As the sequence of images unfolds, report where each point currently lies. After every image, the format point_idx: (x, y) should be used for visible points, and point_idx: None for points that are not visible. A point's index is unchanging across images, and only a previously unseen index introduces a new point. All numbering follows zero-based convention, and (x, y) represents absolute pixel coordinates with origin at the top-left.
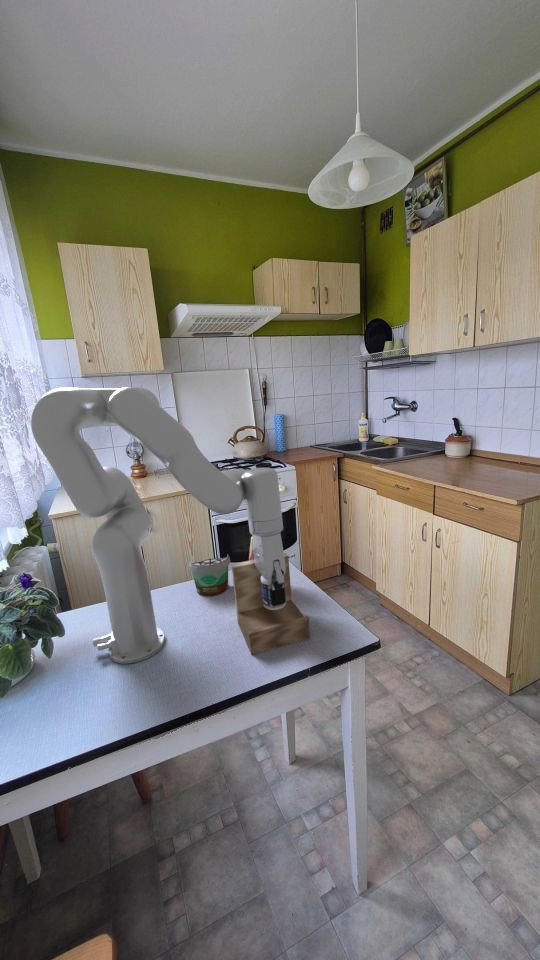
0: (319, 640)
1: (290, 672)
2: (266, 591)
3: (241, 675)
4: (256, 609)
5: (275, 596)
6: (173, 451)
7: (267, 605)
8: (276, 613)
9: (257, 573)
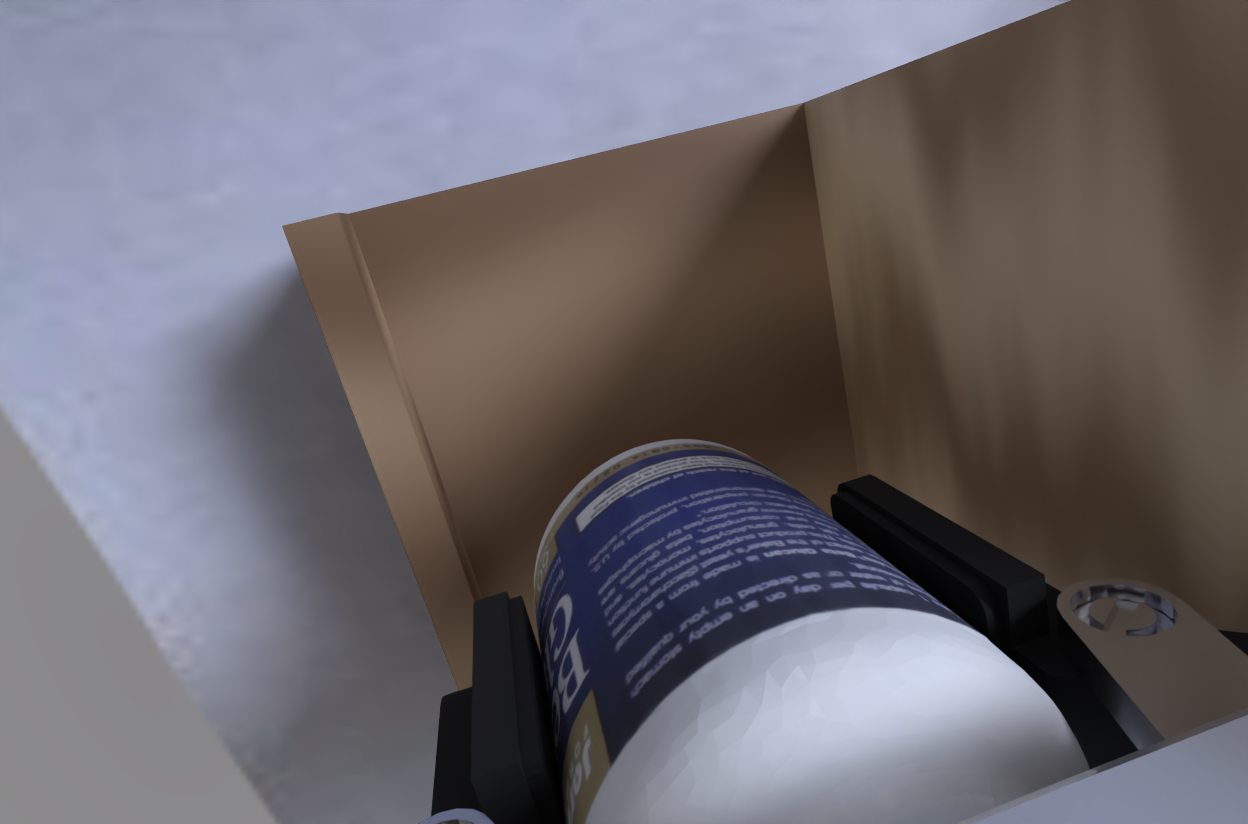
0: None
1: (101, 529)
2: (608, 628)
3: (55, 128)
4: (815, 309)
5: (436, 766)
6: None
7: (572, 508)
8: None
9: (1225, 484)
